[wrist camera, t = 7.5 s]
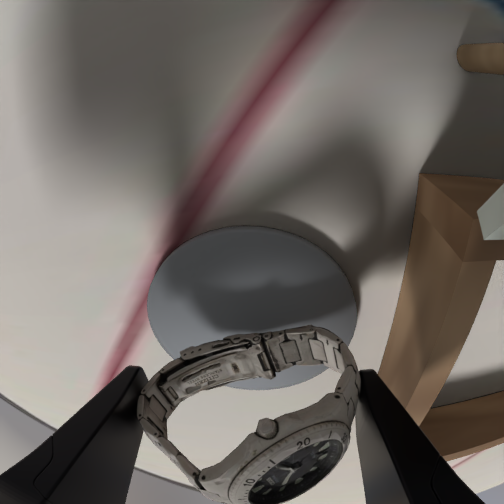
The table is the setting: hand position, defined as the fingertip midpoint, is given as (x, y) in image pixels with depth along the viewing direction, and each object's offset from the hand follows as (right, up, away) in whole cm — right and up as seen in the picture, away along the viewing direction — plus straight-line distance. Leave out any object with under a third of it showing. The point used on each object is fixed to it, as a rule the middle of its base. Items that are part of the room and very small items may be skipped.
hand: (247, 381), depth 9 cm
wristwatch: (0, +1, +1) cm, 2 cm away
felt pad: (0, +1, +2) cm, 3 cm away
